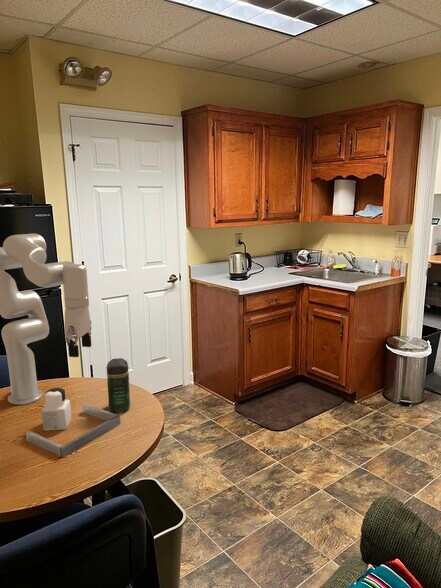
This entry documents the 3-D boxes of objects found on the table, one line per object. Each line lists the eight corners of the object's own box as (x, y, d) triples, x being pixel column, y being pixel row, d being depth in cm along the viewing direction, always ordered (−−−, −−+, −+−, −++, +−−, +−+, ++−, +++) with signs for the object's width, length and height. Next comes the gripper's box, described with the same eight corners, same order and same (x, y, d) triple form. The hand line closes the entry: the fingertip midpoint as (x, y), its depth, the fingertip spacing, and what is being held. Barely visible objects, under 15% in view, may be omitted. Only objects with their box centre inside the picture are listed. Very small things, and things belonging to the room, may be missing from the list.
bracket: (26, 440, 146) (25, 432, 146) (85, 410, 166) (84, 403, 166) (63, 457, 137) (62, 448, 136) (120, 423, 157) (120, 415, 156)
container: (49, 420, 160) (46, 386, 157) (71, 418, 160) (68, 385, 157) (43, 431, 152) (39, 395, 149) (66, 429, 153) (63, 394, 150)
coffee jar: (130, 412, 165) (127, 364, 161) (108, 414, 163) (105, 366, 159) (130, 400, 174) (127, 355, 170) (109, 402, 172) (106, 357, 168)
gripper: (77, 295, 155) (81, 342, 159) (52, 308, 138) (57, 360, 142) (98, 296, 154) (101, 343, 158) (75, 309, 137) (79, 361, 141)
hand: (80, 351), depth 150 cm, fingers open, 9 cm apart
